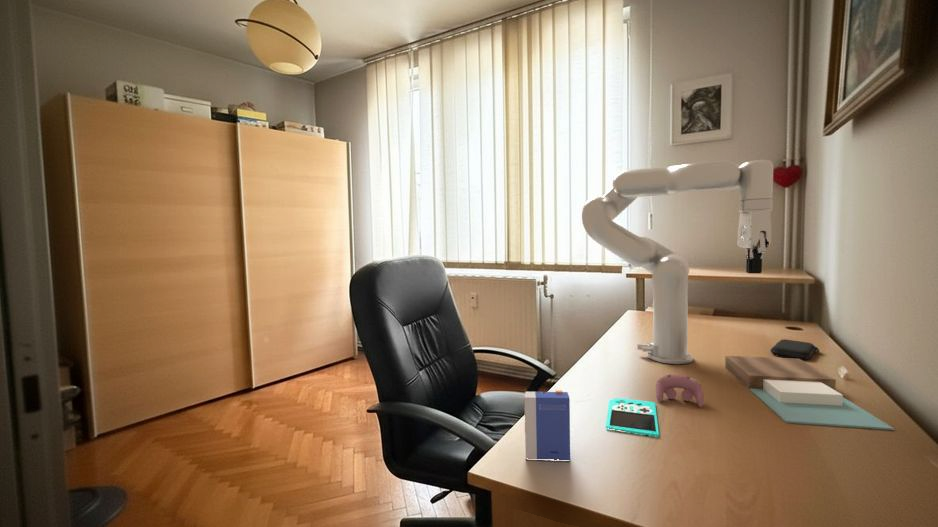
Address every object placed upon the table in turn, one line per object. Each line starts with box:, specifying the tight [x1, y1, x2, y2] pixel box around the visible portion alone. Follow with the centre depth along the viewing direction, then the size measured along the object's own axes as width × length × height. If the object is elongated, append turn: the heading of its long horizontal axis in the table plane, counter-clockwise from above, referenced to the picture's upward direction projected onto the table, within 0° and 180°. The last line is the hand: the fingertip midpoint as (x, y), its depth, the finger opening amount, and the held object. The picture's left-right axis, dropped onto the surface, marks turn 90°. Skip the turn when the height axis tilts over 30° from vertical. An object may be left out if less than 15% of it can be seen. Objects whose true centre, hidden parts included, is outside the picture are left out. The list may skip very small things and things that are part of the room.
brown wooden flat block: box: [724, 355, 837, 391], centre depth 107 cm, size 18×16×4 cm
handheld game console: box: [605, 398, 660, 438], centre depth 89 cm, size 10×16×1 cm, turn 158°
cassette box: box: [763, 379, 844, 406], centre depth 95 cm, size 12×8×2 cm, turn 77°
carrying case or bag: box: [770, 338, 820, 361], centre depth 128 cm, size 11×3×15 cm
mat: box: [749, 388, 895, 431], centre depth 90 cm, size 18×18×1 cm
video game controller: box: [655, 374, 704, 408], centre depth 96 cm, size 10×5×7 cm, turn 67°
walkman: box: [523, 389, 571, 461], centre depth 73 cm, size 8×3×12 cm, turn 84°
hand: (753, 272), depth 114 cm, fingers closed
